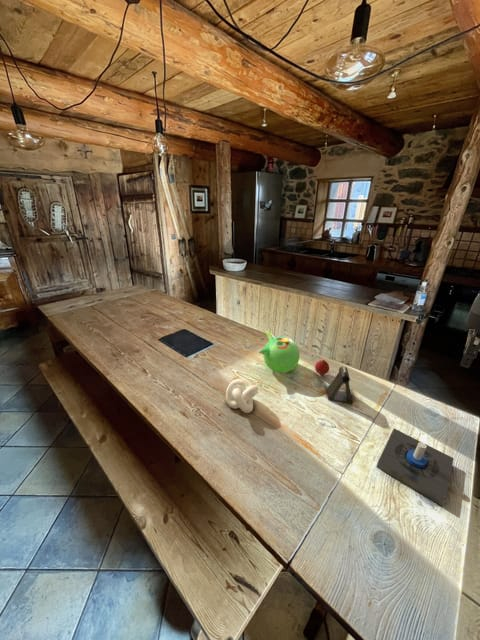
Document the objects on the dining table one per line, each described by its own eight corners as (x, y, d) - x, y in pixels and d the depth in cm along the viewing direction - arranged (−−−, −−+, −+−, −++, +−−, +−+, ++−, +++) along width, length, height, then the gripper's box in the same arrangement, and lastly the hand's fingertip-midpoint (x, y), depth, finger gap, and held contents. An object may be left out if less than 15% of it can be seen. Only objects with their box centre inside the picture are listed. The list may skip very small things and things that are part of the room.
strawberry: (311, 371, 118) (314, 355, 114) (323, 369, 119) (326, 354, 115) (317, 379, 113) (320, 363, 109) (330, 377, 114) (333, 362, 110)
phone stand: (350, 393, 105) (356, 368, 100) (352, 403, 100) (359, 377, 95) (326, 389, 107) (331, 364, 102) (327, 399, 102) (333, 374, 97)
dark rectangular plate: (391, 433, 88) (393, 428, 87) (450, 463, 78) (453, 458, 77) (376, 466, 77) (378, 460, 76) (442, 506, 67) (445, 500, 66)
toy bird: (296, 382, 111) (300, 352, 104) (256, 375, 114) (258, 346, 108) (299, 359, 126) (302, 331, 120) (264, 353, 130) (265, 327, 124)
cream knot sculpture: (218, 409, 96) (218, 390, 92) (234, 390, 106) (234, 371, 102) (247, 420, 92) (248, 401, 88) (260, 399, 101) (261, 380, 97)
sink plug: (415, 457, 80) (424, 437, 76) (427, 472, 76) (437, 451, 72) (400, 458, 79) (408, 438, 76) (411, 473, 75) (420, 453, 71)
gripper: (506, 324, 67) (480, 376, 74) (506, 308, 76) (482, 355, 83) (468, 315, 71) (447, 365, 78) (472, 301, 81) (453, 347, 88)
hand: (465, 360), depth 81 cm, fingers open, 8 cm apart
